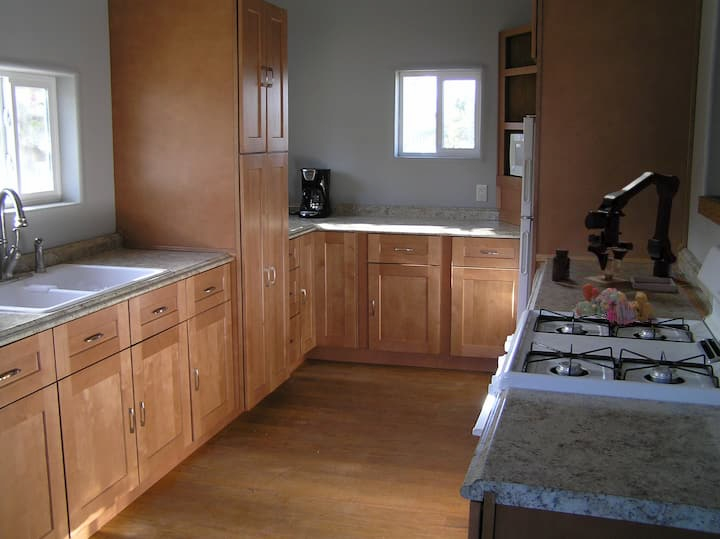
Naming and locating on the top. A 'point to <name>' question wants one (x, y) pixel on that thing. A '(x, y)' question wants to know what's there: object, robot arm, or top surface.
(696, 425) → the top surface
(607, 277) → the stake block
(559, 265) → the supplement bottle
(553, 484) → the top surface
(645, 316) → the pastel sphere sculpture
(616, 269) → the hollow wooden box
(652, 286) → the slate tray
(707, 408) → the top surface
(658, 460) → the top surface
